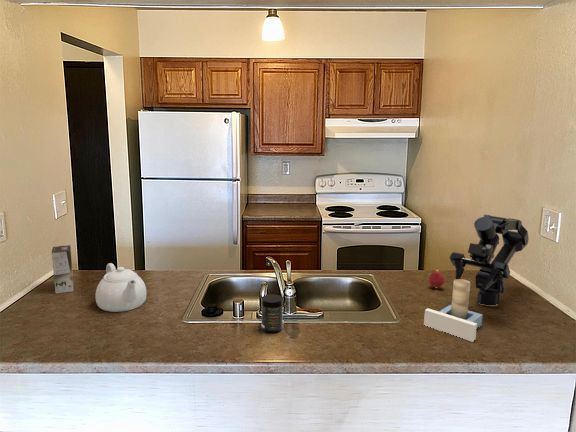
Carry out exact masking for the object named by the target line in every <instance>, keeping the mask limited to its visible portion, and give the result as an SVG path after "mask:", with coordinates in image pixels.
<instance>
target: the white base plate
mask: <svg viewBox="0 0 576 432" xmlns="http://www.w3.org/2000/svg"><path fill="white" fill-rule="evenodd" d="M424 325H425V326H424ZM423 326H424V327H427V326H428V327H427V328H430V327H431V329H433V328H434V329H433V330H437V331H439V332H442V331H443V332H442V333H444V332H446V333H445V334H447V333H449V334H448V335H450V334H451V336H453V335H454V337H456V336H457V338H459V337H460V338H459V339H462V338H463V340H466V341H469V342H470V343H473V342H474V340H475V341H476V338H477V330H478V329H477V323H474V322H471V321H467V320H464V319H461V318H458V317H455V316H451V315H448V314H445V313H442V312H439V311H437V310H434V309H431V308H428V307H427V308H426V309H425V310H424V318H423ZM476 329H477V330H476Z"/></svg>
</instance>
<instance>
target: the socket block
mask: <svg viewBox="0 0 576 432" xmlns="http://www.w3.org/2000/svg"><path fill="white" fill-rule="evenodd" d="M451 305H452V304H449V305H447V306H445V307H444V308H442V309H441V310H440V311H438V312H442V313H445V314H448V315H451ZM467 321H471V322H474V323H477V328H478V327H479V328H481V327H482V322H483V314H482V313H479V312H475V311H472V310H469V309H468V313H467ZM480 326H481V327H480ZM479 328H478V329H479Z"/></svg>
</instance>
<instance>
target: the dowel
mask: <svg viewBox="0 0 576 432" xmlns="http://www.w3.org/2000/svg"><path fill="white" fill-rule="evenodd" d="M470 289H471V282H470V281H469V280H468V279H467V280H466V279H462V278H460V279H456V278H454V280H453V284H452V297H451V304H450V305H451V316H455V317H458V318H461V319H464V320H467V313H468V310H469V300H470Z"/></svg>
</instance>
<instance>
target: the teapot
mask: <svg viewBox="0 0 576 432" xmlns="http://www.w3.org/2000/svg"><path fill="white" fill-rule="evenodd" d="M105 272H106V273H105V274H104V276H103V278H102V279H101V280H100V281H99V283H98V285H97V287H96V290H95V302H96V305H97V307H98V308H99V309H101V310H103V311H106V312H113V313H115V312H116V313H119V312H127V311H133V310H135V309H137V308H139V307H141V306H142V305H144V303H145V302H146V300H147V286H146V284H145V282H144V280H143V279H142V277H140V276H139V275H138V273H137V272H135V271H133V270H131V269H129V268H125V267H123V266H119V267H117V268H116V266H115V265H114V264H113V263H112V262H110V263H109V262H108V263H107V264H106V268H105Z"/></svg>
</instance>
